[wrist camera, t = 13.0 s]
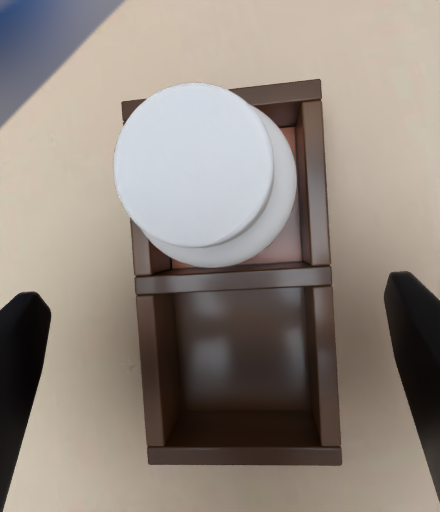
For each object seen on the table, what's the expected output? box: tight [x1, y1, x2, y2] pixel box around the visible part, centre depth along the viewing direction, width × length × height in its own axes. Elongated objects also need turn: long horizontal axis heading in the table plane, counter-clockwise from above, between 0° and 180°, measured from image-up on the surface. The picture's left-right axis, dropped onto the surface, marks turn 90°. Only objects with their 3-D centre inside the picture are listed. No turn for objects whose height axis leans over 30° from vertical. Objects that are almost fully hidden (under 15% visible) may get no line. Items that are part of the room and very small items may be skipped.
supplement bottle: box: [113, 83, 297, 268], centre depth 14 cm, size 5×5×10 cm
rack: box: [122, 79, 342, 466], centre depth 18 cm, size 15×8×4 cm, turn 4°
